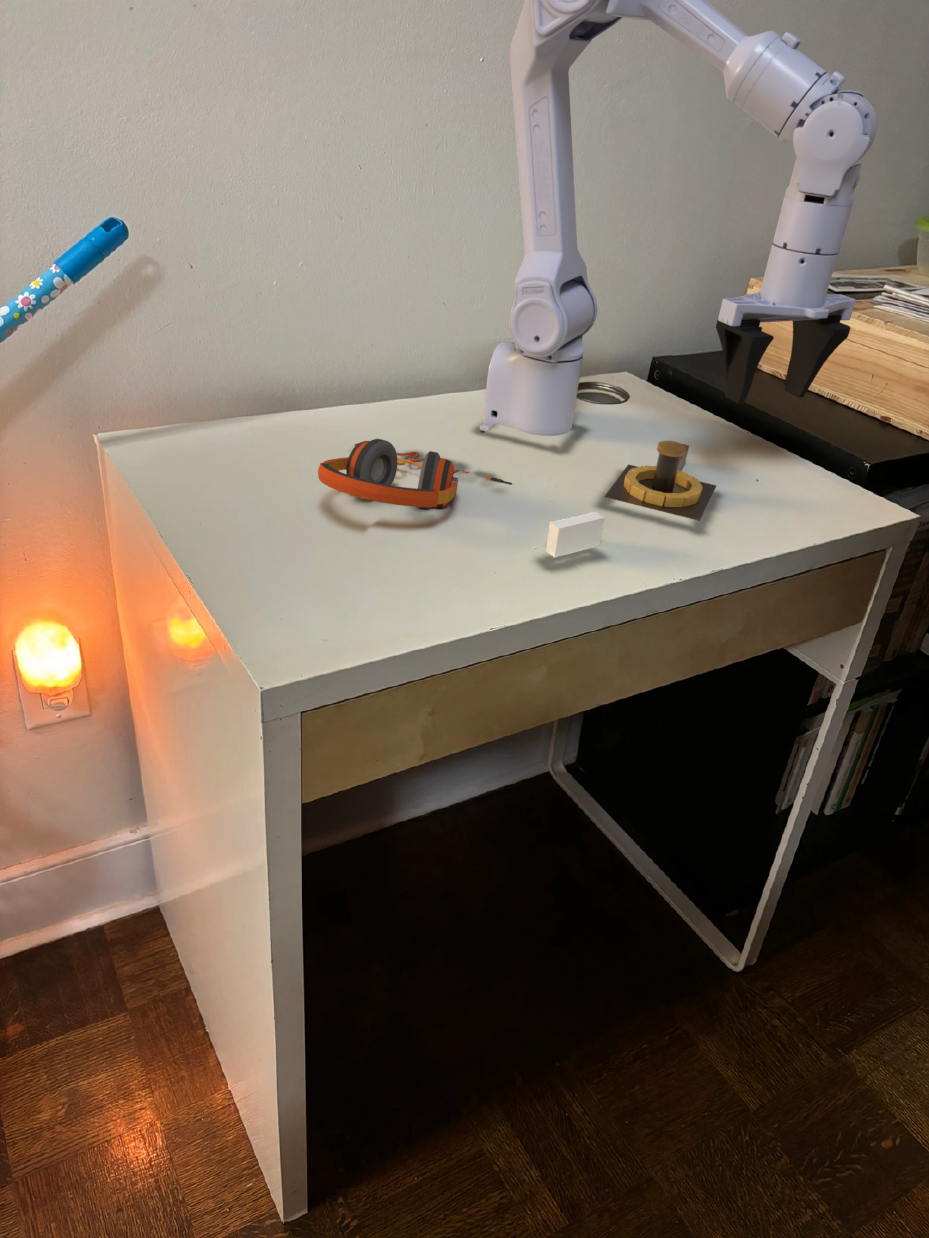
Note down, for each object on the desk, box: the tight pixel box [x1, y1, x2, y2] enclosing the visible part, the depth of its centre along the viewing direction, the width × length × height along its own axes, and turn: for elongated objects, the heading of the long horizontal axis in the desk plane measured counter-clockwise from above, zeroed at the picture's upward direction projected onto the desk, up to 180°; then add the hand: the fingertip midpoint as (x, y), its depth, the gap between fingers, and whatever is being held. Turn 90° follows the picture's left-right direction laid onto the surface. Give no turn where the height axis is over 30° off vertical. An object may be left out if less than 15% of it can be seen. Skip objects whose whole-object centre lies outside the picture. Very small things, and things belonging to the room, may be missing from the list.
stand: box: [604, 440, 717, 522], centre depth 88 cm, size 9×9×6 cm
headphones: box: [317, 438, 513, 510], centre depth 83 cm, size 17×5×20 cm
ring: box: [624, 443, 703, 507], centre depth 90 cm, size 12×7×2 cm, turn 157°
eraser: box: [545, 511, 606, 558], centre depth 77 cm, size 1×5×4 cm, turn 123°
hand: (764, 397), depth 89 cm, fingers open, 7 cm apart
